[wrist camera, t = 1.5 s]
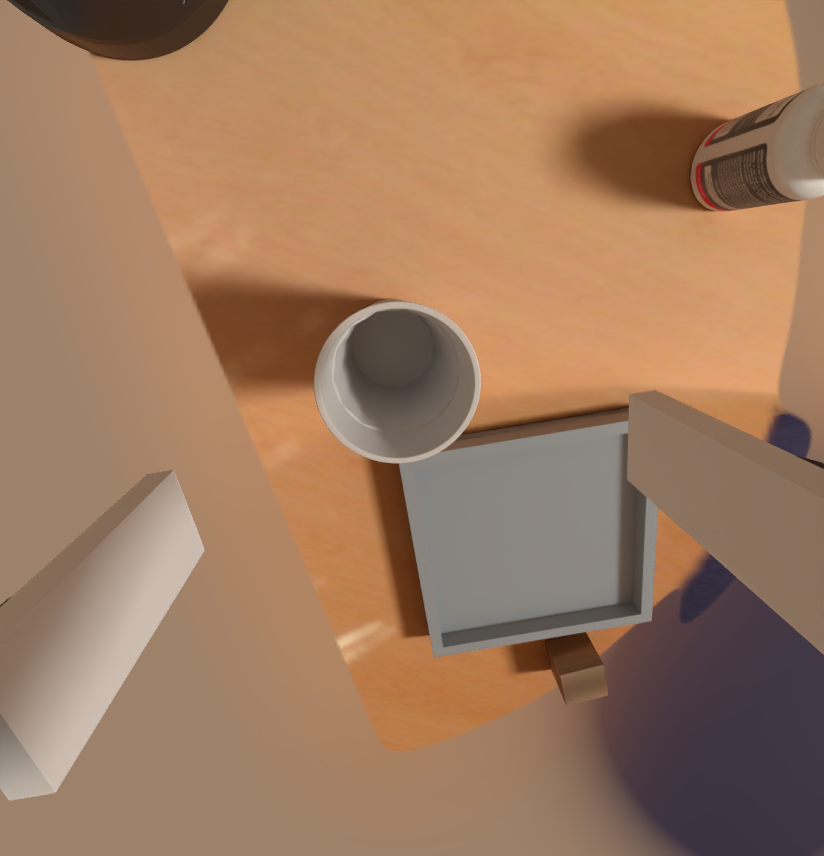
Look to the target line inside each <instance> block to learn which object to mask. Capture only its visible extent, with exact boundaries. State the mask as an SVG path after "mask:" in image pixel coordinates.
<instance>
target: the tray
mask: <svg viewBox="0 0 824 856" xmlns="http://www.w3.org/2000/svg"><path fill="white" fill-rule="evenodd" d="M628 421H629V408H622V409H616V410H610V411H604V412H598V413H592V414H586V415H580V416H574V417H568V418H562V419H556V420H550V421H544V422H538V423H532V424H526V425H519V426H513V427H507V428H501V429H495V430H489V431H483V432H477V433H471V434H465V435H460V436H459V437H458V438H457V439H456V440H455V441H454V442H453V443H452V444H450V445H449V446H448V447H446V448H445V449H444V450H442V451H440V452H439V453H437V454H435V455H433V456H430V457H428V458H425V459H422V460H419V461H414V462H409V463H399V467H400V473H401V479H402V484H403V490H404V495H405V501H406V506H407V512H408V517H409V523H410V529H411V534H412V540H413V545H414V551H415V556H416V562H417V568H418V573H419V579H420V584H421V590H422V595H423V601H424V606H425V612H426V618H427V623H428V629H429V634H430V640H431V645H432V651H433V656H434V657H440V656H446V655H452V654H458V653H464V652H470V651H476V650H482V649H487V648H493V647H499V646H505V645H511V644H517V643H523V642H529V641H535V640H541V639H547V638H553V637H559V636H565V635H571V634H577V633H583V632H589V631H595V630H601V629H607V628H613V627H619V626H625V625H631V624H636V623H642V622H648V621H652V605H653V588H654V570H655V552H656V535H657V517H658V507H657V506H656V505H655V504H654V503H653V502H652V501H650V500H649V499H648V498H647V497H646V496H645V495H644V494H643V493H641V492H640V491H639V490H638V489H637V488H636V487H635V486H634V485H632V484H631V483H630V482H629V481H628V480H627V461H628Z"/></svg>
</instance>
